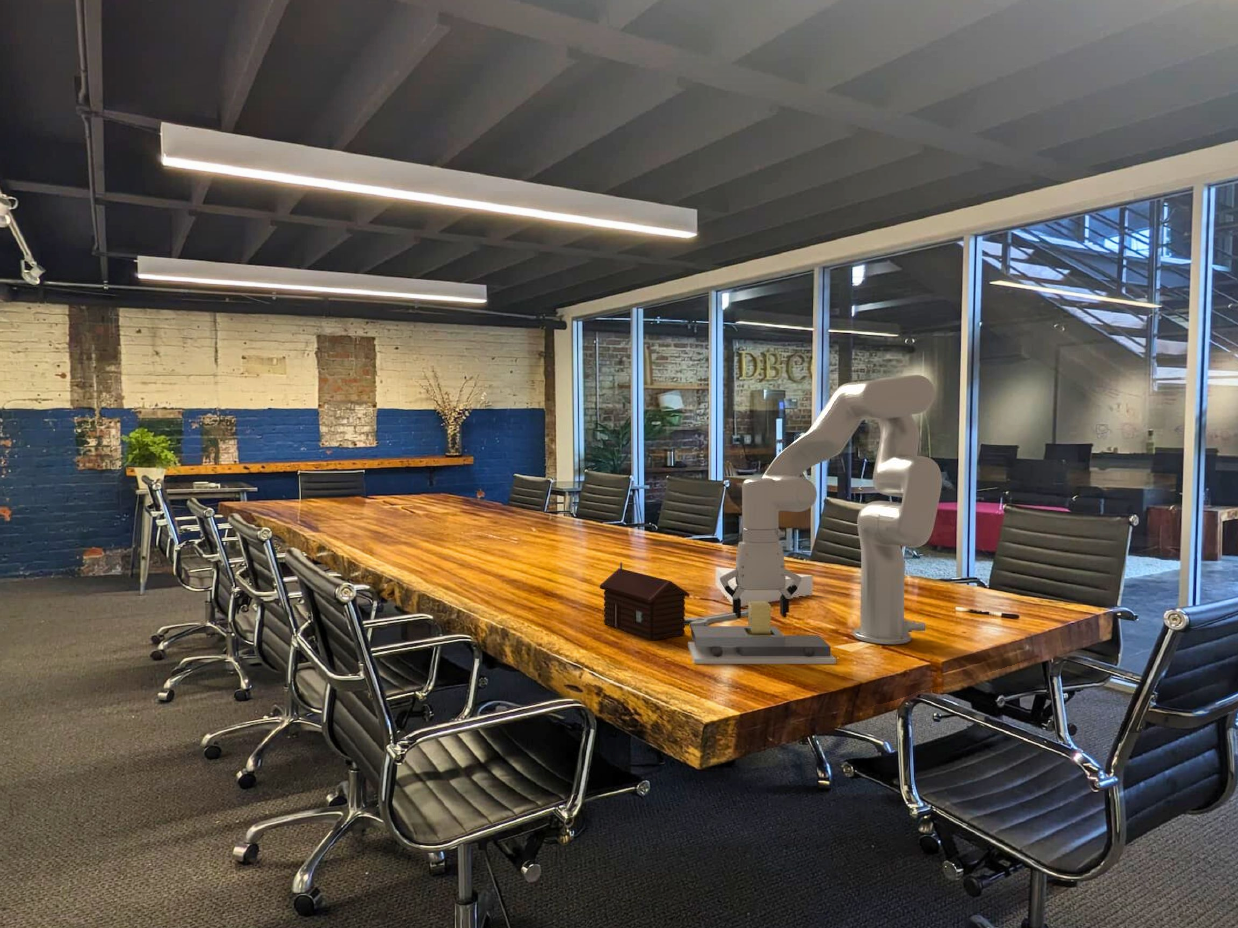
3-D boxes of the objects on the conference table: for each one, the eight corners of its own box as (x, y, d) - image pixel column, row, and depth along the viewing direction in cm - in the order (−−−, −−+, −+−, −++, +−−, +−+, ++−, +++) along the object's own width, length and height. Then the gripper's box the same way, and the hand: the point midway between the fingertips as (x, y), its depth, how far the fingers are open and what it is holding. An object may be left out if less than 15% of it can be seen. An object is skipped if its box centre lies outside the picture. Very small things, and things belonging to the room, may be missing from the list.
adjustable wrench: (750, 614, 202) (751, 607, 202) (767, 619, 197) (767, 612, 197) (673, 625, 189) (673, 618, 189) (689, 631, 184) (689, 623, 184)
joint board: (818, 646, 170) (818, 641, 170) (835, 663, 157) (835, 658, 157) (687, 646, 169) (687, 641, 169) (694, 663, 156) (694, 658, 156)
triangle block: (735, 609, 208) (735, 586, 208) (677, 592, 230) (677, 571, 230) (812, 596, 225) (812, 575, 224) (751, 582, 246) (751, 562, 246)
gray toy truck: (818, 643, 168) (818, 625, 168) (831, 656, 158) (831, 637, 158) (690, 643, 168) (690, 625, 168) (695, 656, 158) (695, 637, 158)
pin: (766, 647, 165) (766, 601, 165) (770, 652, 161) (770, 605, 161) (748, 647, 165) (748, 601, 164) (751, 652, 161) (751, 605, 160)
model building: (599, 624, 190) (599, 564, 189) (637, 617, 196) (637, 559, 196) (650, 642, 173) (650, 576, 172) (689, 635, 179) (689, 571, 179)
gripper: (796, 533, 166) (797, 611, 167) (717, 534, 166) (717, 612, 166) (805, 538, 158) (805, 620, 159) (722, 539, 158) (722, 621, 159)
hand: (760, 616), depth 163 cm, fingers open, 9 cm apart
